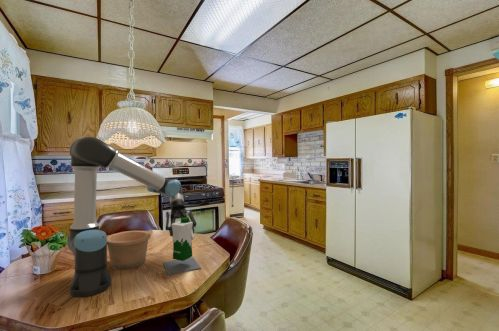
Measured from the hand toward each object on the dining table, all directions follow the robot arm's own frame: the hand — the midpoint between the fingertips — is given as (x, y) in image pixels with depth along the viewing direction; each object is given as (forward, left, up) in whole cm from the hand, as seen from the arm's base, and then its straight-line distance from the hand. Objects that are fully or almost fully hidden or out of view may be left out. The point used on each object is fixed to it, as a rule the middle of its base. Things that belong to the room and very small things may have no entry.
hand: (183, 239), depth 128 cm
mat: (-1, +3, -14) cm, 15 cm away
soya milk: (0, +2, -10) cm, 10 cm away
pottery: (-25, +19, -14) cm, 35 cm away
